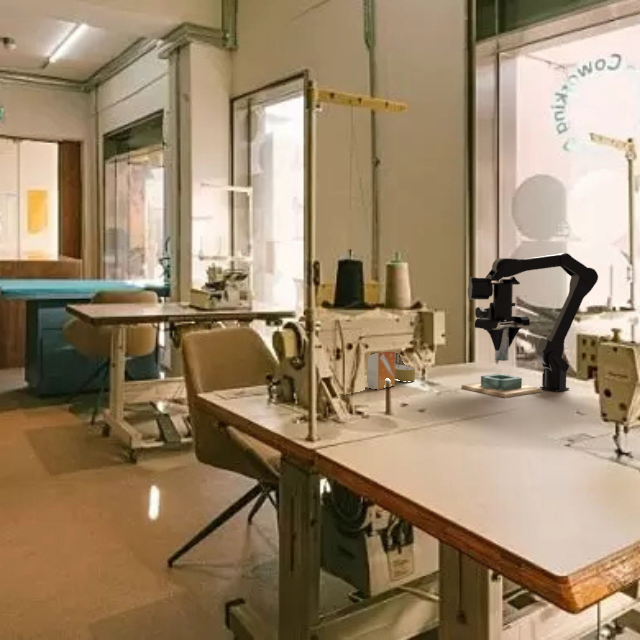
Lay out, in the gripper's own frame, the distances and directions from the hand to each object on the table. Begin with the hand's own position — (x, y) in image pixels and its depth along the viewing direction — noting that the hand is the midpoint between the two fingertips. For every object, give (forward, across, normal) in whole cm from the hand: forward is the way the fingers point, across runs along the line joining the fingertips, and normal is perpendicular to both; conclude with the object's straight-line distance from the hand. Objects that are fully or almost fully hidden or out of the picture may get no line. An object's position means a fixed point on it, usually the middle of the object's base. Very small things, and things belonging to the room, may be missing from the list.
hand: (501, 350), depth 229 cm
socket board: (+12, 0, 0) cm, 12 cm away
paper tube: (+12, +14, -29) cm, 35 cm away
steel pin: (+3, 0, 0) cm, 3 cm away
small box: (+12, +28, -25) cm, 40 cm away
